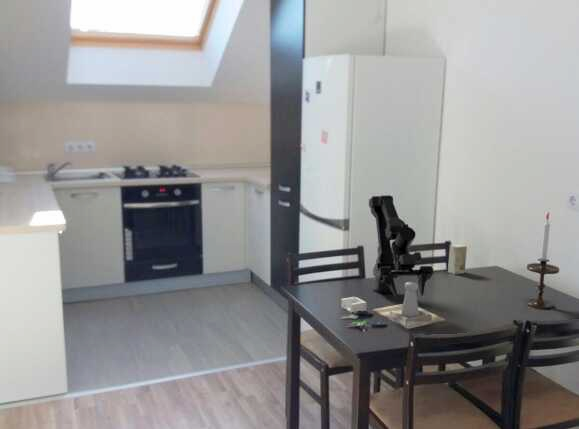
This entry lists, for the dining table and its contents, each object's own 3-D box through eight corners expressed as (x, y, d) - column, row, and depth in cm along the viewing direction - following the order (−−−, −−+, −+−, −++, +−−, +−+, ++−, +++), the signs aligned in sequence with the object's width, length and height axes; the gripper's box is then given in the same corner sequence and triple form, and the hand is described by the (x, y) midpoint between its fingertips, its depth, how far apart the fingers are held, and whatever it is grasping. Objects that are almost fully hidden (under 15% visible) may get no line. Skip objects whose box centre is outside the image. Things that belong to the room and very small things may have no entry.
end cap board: (373, 310, 210) (373, 302, 210) (408, 304, 218) (409, 296, 217) (407, 328, 194) (408, 319, 193) (444, 321, 201) (445, 312, 201)
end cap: (351, 313, 208) (352, 304, 207) (341, 307, 214) (341, 298, 213) (366, 310, 211) (366, 302, 210) (354, 304, 217) (355, 296, 216)
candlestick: (555, 311, 212) (565, 215, 205) (523, 307, 216) (531, 212, 209) (555, 302, 221) (564, 210, 215) (524, 298, 226) (532, 207, 219)
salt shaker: (421, 321, 199) (423, 284, 196) (406, 323, 197) (408, 285, 195) (412, 315, 204) (414, 279, 202) (397, 317, 202) (399, 280, 200)
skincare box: (454, 274, 257) (456, 247, 254) (447, 272, 260) (449, 245, 258) (465, 273, 259) (467, 245, 257) (458, 270, 263) (460, 243, 261)
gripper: (380, 244, 202) (387, 285, 193) (433, 243, 204) (443, 284, 195) (373, 260, 211) (380, 300, 202) (424, 259, 213) (433, 298, 204)
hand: (409, 295), depth 201 cm, fingers open, 9 cm apart
